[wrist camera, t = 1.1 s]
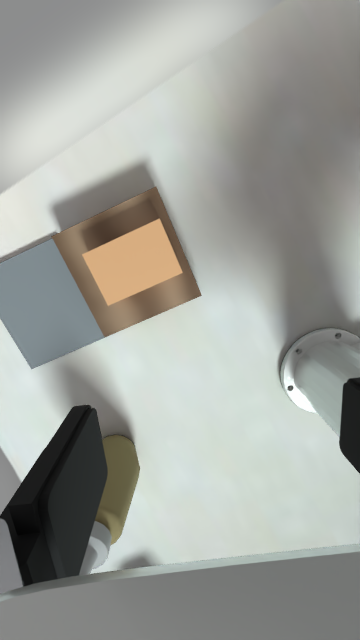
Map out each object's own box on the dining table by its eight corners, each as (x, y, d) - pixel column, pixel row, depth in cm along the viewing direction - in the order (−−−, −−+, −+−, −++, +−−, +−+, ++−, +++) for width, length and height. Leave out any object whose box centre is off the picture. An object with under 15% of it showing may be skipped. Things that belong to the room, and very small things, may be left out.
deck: (158, 194, 32) (156, 186, 28) (199, 291, 35) (201, 295, 31) (64, 238, 33) (51, 236, 29) (111, 329, 36) (104, 337, 32)
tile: (161, 221, 29) (159, 218, 27) (182, 271, 30) (182, 272, 28) (89, 254, 30) (81, 254, 27) (113, 302, 31) (108, 305, 29)
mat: (58, 236, 33) (56, 236, 32) (109, 334, 36) (108, 335, 35) (-23, 275, 34) (-27, 275, 33) (33, 367, 37) (31, 369, 36)
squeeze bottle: (114, 417, 39) (62, 549, 21) (154, 449, 40) (136, 597, 23) (79, 451, 40) (4, 601, 23) (119, 481, 41) (77, 644, 24)
